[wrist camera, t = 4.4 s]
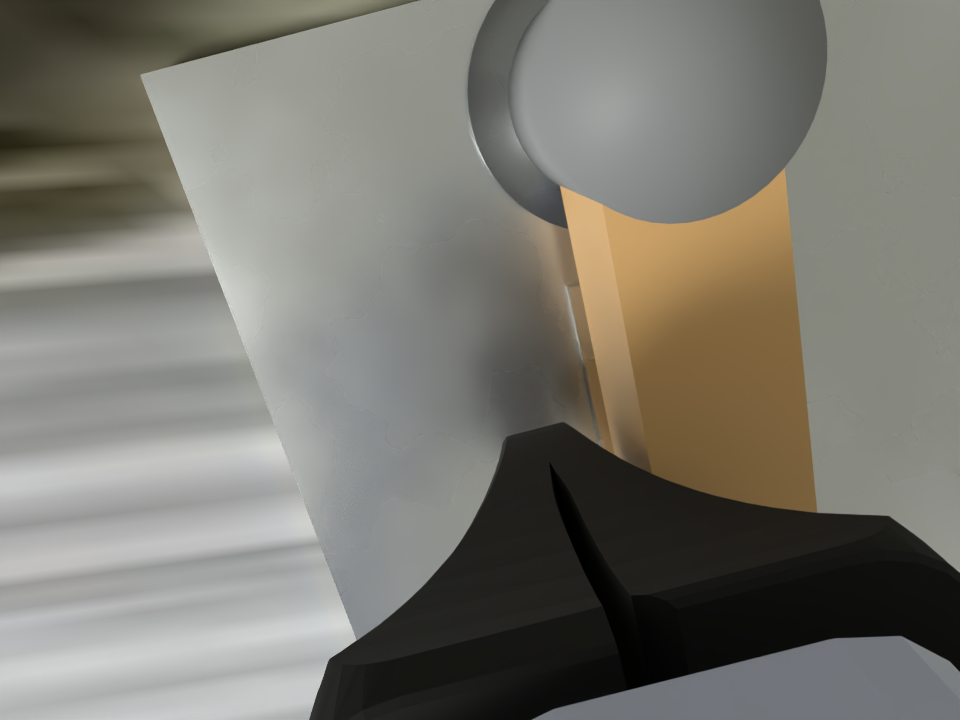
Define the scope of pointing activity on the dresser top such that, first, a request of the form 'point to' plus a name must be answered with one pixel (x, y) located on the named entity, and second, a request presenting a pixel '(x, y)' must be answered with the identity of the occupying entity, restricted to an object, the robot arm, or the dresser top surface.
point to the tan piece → (684, 223)
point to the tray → (545, 269)
